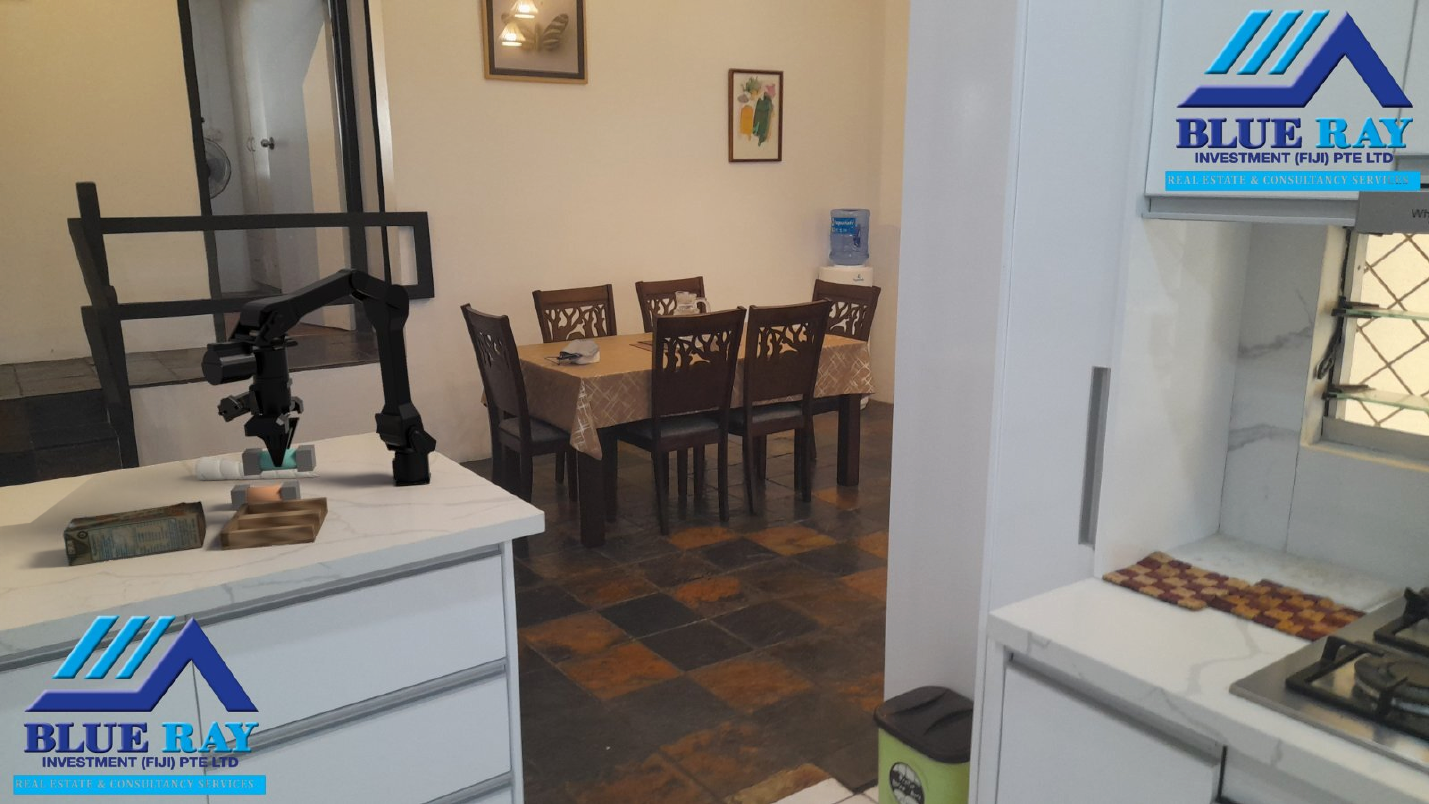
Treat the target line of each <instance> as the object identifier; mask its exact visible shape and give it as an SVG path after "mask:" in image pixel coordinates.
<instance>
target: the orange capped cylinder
mask: <svg viewBox="0 0 1429 804" xmlns="http://www.w3.org/2000/svg"><path fill="white" fill-rule="evenodd" d="M300 486H301V485H300V481H299V480H294V481H293V480H292V481H284V482H283V483H282V484H278V485H267V486H266V485H265V486H253V487H252V486H251V484H250V483H247V484H235V485H234V486H233V488H232V489H231V490H230V500H231V505H232V507H231V509H232V512H237V510H238V509H239V508H240V506H241V505H242V504H243V503H256V502H269V501H283V500H296V499H302V497H301V487H300Z"/></svg>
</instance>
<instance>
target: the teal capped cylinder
mask: <svg viewBox="0 0 1429 804" xmlns="http://www.w3.org/2000/svg"><path fill="white" fill-rule="evenodd" d="M241 460H242V461H241V462H243V470H244V476H250V475H260V474H261V473H262V471H273V470H288V469H291V470H297V472H314V470H315V468H316V466H317V459H316V446H315V444H299V445H298V447H297V448H290V449H287V450H286V453H285V457H284V461H283V464H282V466H281V467H275V466H274V464H273V461H272V459H271V457H270V454H269V452H268V450H263V447H256V448H255V447H253V448H246V449H245V450H244V451H243V452H242V453H241Z"/></svg>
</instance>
